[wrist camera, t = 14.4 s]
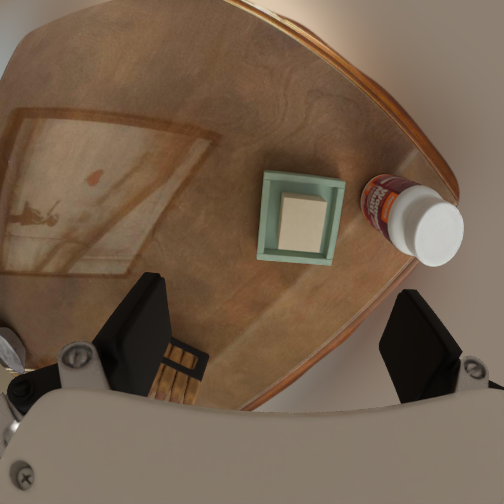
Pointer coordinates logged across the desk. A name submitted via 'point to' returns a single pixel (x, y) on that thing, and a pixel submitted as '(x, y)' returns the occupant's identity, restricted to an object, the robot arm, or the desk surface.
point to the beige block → (301, 222)
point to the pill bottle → (413, 218)
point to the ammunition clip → (180, 372)
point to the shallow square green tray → (270, 214)
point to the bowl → (12, 350)
